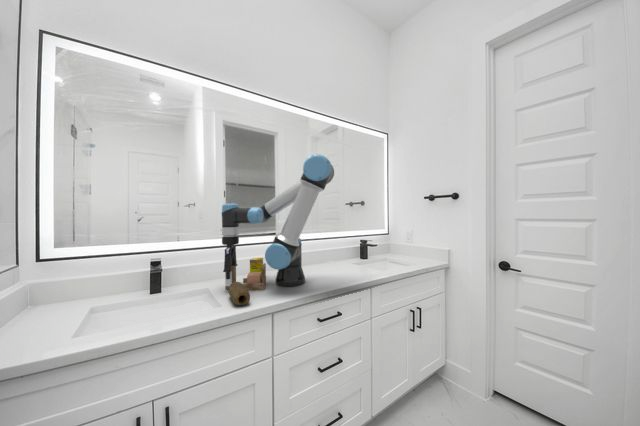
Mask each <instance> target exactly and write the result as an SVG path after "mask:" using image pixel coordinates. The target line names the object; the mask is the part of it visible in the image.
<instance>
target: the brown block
mask: <svg viewBox="0 0 640 426" xmlns="http://www.w3.org/2000/svg"><path fill="white" fill-rule="evenodd" d="M236 267H237V266H231V271H232V283H233V282H237V268H236ZM227 269H229V268H227ZM246 278H247V283H243V282H241V283H242V284H250V283H262V282H261V272H252V273H250V272H248V274H247V276H246ZM225 290H229V286H225Z"/></svg>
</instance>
